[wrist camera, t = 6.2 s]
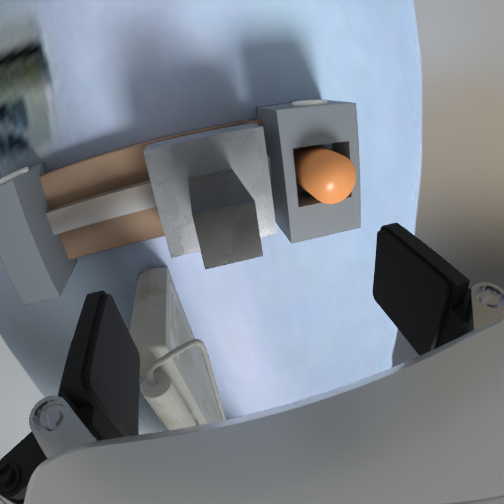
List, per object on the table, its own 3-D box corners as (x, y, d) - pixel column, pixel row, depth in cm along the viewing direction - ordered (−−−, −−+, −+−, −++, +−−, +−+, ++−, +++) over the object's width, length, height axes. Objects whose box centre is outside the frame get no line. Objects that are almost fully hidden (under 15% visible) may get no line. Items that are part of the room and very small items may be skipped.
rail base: (329, 193, 30) (341, 202, 28) (40, 261, 27) (32, 274, 24) (323, 110, 26) (335, 112, 24) (12, 186, 23) (0, 194, 21)
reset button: (332, 183, 26) (356, 199, 22) (292, 191, 25) (310, 208, 22) (330, 141, 24) (354, 150, 21) (287, 147, 24) (306, 157, 20)
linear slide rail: (330, 203, 30) (360, 227, 25) (44, 269, 27) (23, 305, 22) (321, 96, 26) (355, 99, 20) (8, 173, 22) (-25, 193, 17)
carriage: (266, 218, 27) (311, 283, 18) (171, 240, 26) (171, 317, 17) (253, 122, 23) (299, 140, 14) (147, 144, 22) (126, 176, 13)
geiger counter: (105, 387, 17) (211, 501, 30) (200, 369, 18) (263, 491, 30) (127, 273, 29) (198, 415, 42) (189, 257, 30) (241, 406, 42)
